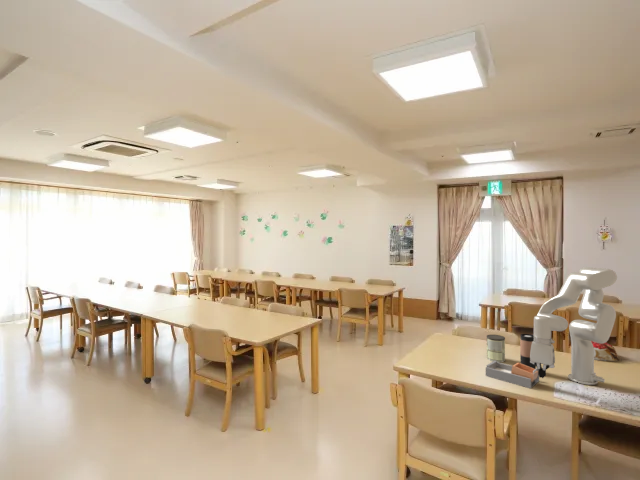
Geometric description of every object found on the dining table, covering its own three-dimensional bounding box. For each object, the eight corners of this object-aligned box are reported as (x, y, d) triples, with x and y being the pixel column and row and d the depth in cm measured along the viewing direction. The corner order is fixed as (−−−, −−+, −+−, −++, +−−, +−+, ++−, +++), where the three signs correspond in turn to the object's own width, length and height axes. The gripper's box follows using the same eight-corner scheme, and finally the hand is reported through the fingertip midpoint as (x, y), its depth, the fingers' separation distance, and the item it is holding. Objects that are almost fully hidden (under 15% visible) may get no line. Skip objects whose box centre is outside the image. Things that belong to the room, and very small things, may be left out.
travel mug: (517, 369, 202) (517, 334, 202) (526, 367, 204) (526, 333, 204) (529, 374, 195) (529, 337, 195) (539, 372, 197) (539, 336, 197)
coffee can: (484, 356, 224) (484, 334, 224) (501, 356, 223) (501, 334, 223) (490, 361, 214) (490, 338, 214) (508, 362, 213) (508, 339, 213)
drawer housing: (539, 381, 185) (539, 370, 185) (530, 388, 176) (530, 377, 176) (495, 369, 201) (495, 359, 201) (485, 375, 192) (485, 365, 192)
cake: (625, 365, 208) (625, 348, 208) (574, 357, 221) (574, 341, 221) (619, 354, 227) (619, 339, 227) (572, 348, 241) (572, 333, 241)
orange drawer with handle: (536, 382, 183) (539, 367, 182) (531, 386, 178) (534, 371, 176) (515, 373, 190) (518, 359, 189) (510, 377, 185) (512, 363, 184)
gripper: (561, 342, 175) (561, 379, 175) (528, 336, 186) (528, 371, 186) (557, 345, 170) (557, 383, 170) (523, 339, 181) (523, 374, 181)
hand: (542, 376), depth 178 cm, fingers closed
